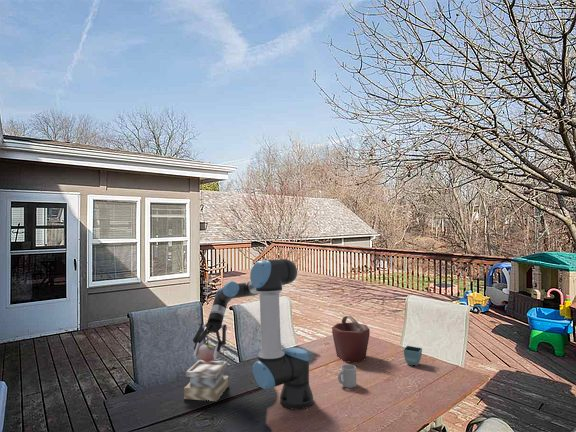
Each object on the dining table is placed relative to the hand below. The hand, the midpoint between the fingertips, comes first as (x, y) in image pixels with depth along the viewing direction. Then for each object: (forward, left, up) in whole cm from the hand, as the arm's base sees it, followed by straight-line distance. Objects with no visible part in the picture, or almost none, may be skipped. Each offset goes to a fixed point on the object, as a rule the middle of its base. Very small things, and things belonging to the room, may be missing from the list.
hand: (204, 357), depth 164 cm
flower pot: (-106, -54, -18) cm, 120 cm away
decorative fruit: (0, -3, -4) cm, 5 cm away
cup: (-67, -20, -18) cm, 72 cm away
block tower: (0, -3, -18) cm, 18 cm away
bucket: (-70, -60, -18) cm, 94 cm away
